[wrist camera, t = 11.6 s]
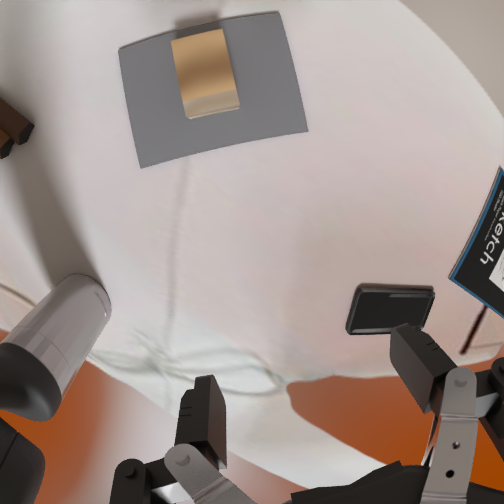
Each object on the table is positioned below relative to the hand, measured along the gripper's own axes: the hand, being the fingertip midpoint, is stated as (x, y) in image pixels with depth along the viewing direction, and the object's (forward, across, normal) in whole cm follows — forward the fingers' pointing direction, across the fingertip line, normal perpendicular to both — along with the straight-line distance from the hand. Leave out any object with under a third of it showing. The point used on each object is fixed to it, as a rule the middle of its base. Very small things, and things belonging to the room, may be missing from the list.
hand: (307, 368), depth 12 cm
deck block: (+25, +2, -18) cm, 31 cm away
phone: (+26, -18, +18) cm, 36 cm away
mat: (+26, +2, -18) cm, 31 cm away
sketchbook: (+26, -47, +17) cm, 56 cm away
